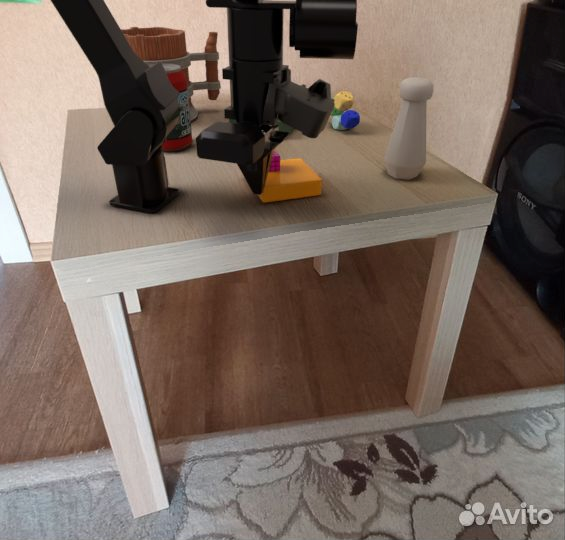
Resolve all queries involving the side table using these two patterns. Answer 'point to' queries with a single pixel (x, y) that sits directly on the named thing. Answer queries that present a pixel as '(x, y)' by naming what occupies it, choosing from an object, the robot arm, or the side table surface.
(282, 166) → the orange square block
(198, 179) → the side table surface
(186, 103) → the beverage can
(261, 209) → the side table surface
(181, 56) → the mug
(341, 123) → the dice
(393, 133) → the salt shaker
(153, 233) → the side table surface
